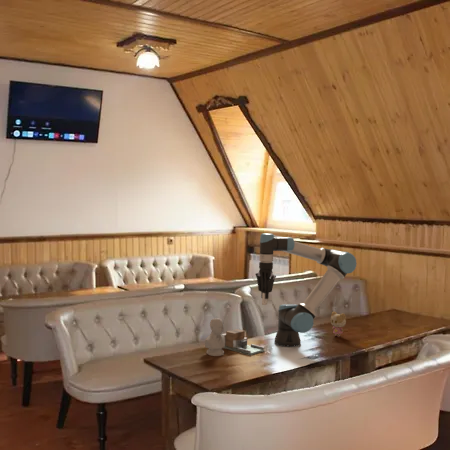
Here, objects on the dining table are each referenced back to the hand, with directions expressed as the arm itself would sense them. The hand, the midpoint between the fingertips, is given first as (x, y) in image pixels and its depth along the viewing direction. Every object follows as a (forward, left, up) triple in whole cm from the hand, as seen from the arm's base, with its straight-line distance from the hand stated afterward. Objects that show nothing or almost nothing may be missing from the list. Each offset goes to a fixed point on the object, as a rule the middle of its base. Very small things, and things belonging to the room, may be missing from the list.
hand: (264, 304), depth 322 cm
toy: (-63, +8, -27) cm, 69 cm away
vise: (+5, -12, -26) cm, 29 cm away
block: (+5, -16, -25) cm, 30 cm away
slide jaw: (+5, -11, -25) cm, 28 cm away
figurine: (+22, -15, -27) cm, 38 cm away
